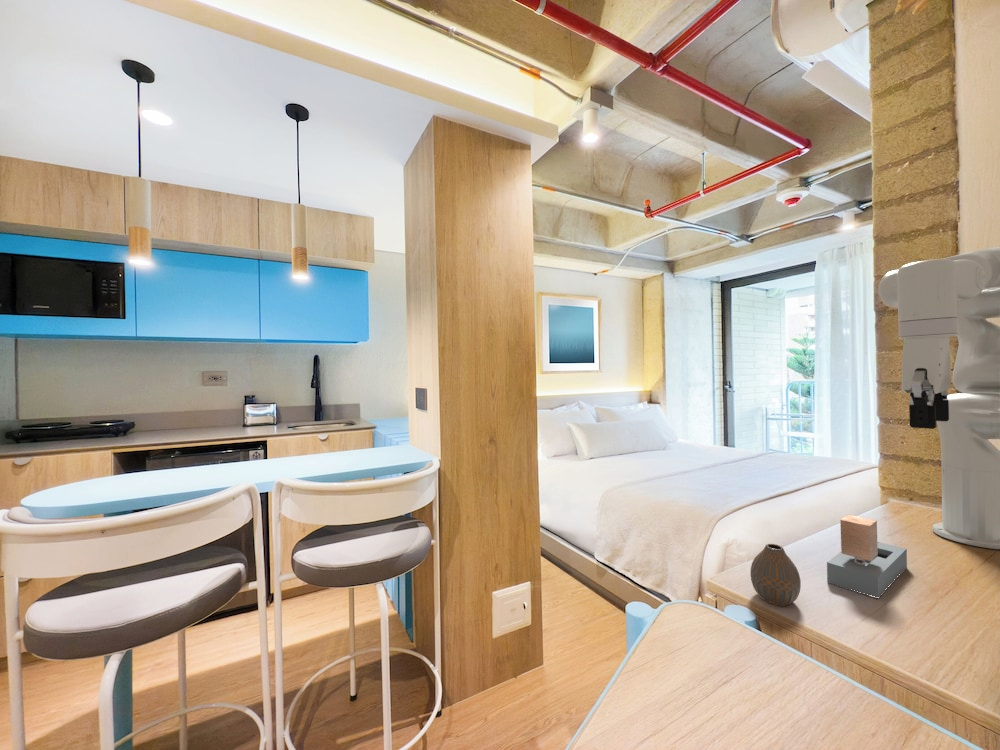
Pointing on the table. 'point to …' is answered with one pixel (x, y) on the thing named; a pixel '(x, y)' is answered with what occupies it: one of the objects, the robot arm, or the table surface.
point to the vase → (775, 576)
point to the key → (859, 538)
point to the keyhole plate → (868, 570)
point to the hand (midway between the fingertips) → (929, 424)
